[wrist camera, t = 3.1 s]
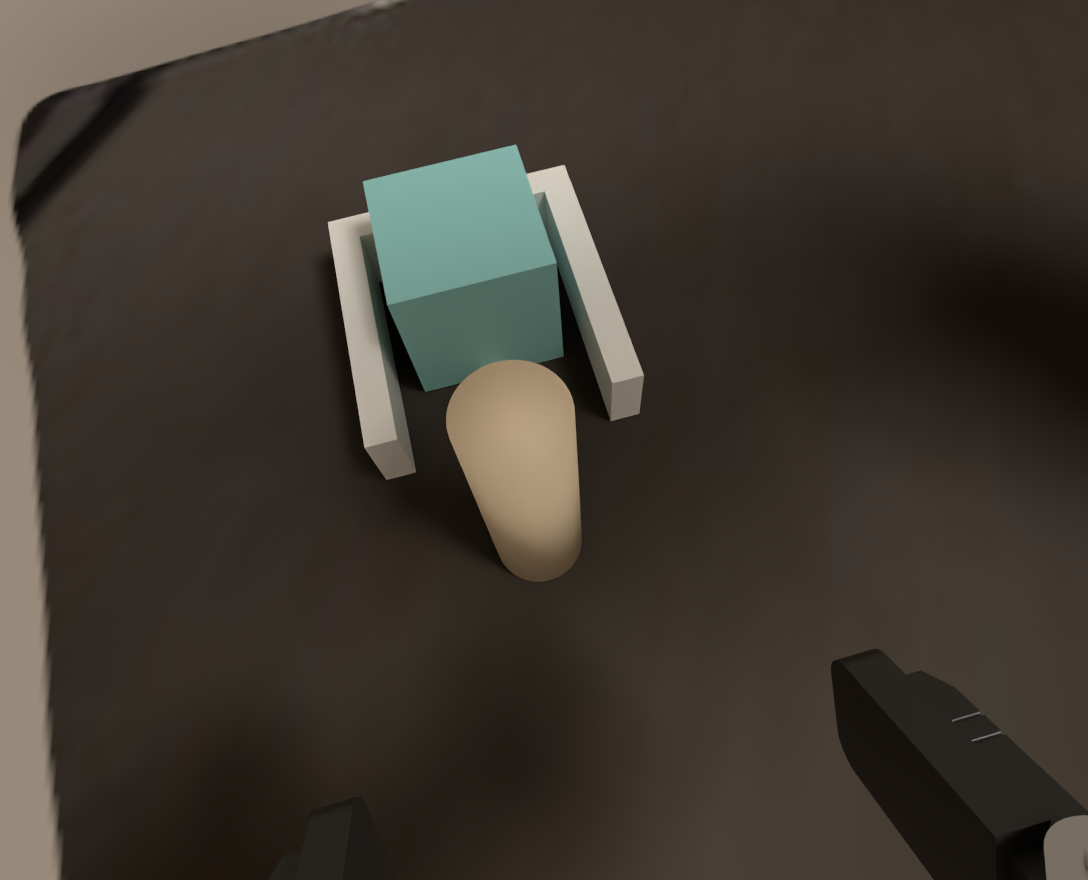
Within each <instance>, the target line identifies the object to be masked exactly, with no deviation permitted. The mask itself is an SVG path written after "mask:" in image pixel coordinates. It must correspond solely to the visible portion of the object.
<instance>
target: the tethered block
mask: <svg viewBox="0 0 1088 880" xmlns="http://www.w3.org/2000/svg"><path fill="white" fill-rule="evenodd" d="M363 185H364V190H365V195H366V200H367V205H368V210H369V215H370V220H371V225H372V230H373V235H374V241H375V246H376V251H377V256H378V261H379V266H380V271H381V276H382V281H383V286H384V291H385V296H386V301H387V306H388V308H389V310H390V313H391V315H392V317H393V319H394V322H395V324H396V326H397V329H398V331H399V333H400V336H401V338H402V340H403V342H404V345H405V347H406V349H407V352H408V354H409V356H410V358H411V361H412V363H413V365H414V368H415V370H416V372H417V374H418V377H419V379H420V381H421V384H422V386H423V388H424V391H425V392H428V391H432V390H435V389H439V388H443V387H447V386H451V385H455V384H459V383H461V384H460V385H459V386H458V387H457V389H456V390H455V392H454V393H453V395H452V397H451V399H450V402H449V405H448V408H447V414H446V426H447V432H448V436H449V439H450V441H451V443H452V446H453V448H454V451H455V453H456V455H457V458H458V460H459V462H460V465H461V467H462V469H463V472H464V474H465V476H466V479H467V481H468V484H469V486H470V488H471V491H472V493H473V495H474V498H475V500H476V502H477V505H478V507H479V509H480V512H481V514H482V516H483V519H484V521H485V524H486V526H487V528H488V531H489V533H490V535H491V538H492V540H493V542H494V545H495V547H496V549H497V552H498V554H499V556H500V559H501V561H502V562H503V564H504V565H505V567H506V568H507V569H508V570H509V571H510V572H512V573H513V574H514V575H516V576H517V577H520V578H522V579H524V580H528V581H533V582H543V581H549V580H552V579H555V578H557V577H559V576H561V575H563V574H564V573H565V572H567V571H568V570H569V569H570V568H571V567H572V566H573V564H574V563H575V561H576V560H577V558H578V556H579V553H580V550H581V545H582V531H581V513H580V495H579V477H578V459H577V441H576V423H575V408H574V403H573V398H572V396H571V394H570V391H569V390H568V388H567V386H566V385H565V383H564V382H563V381H562V380H561V379H560V378H559V377H558V376H557V375H556V374H555V373H553V372H552V371H551V370H549V369H547V368H546V367H544V366H542V365H539V364H537V363H541V362H544V361H548V360H552V359H556V358H560V357H564V354H563V340H562V327H561V314H560V300H559V287H558V273H557V262H556V259H555V256H554V254H553V251H552V248H551V245H550V242H549V239H548V236H547V233H546V230H545V227H544V224H543V221H542V219H541V216H540V213H539V210H538V207H537V204H536V201H535V198H534V195H533V192H532V189H531V186H530V183H529V181H528V178H527V175H526V172H525V169H524V166H523V163H522V160H521V157H520V154H519V151H518V148H517V146H516V145H513V146H508V147H504V148H500V149H496V150H492V151H488V152H483V153H479V154H475V155H471V156H467V157H463V158H458V159H454V160H450V161H446V162H442V163H437V164H433V165H429V166H425V167H421V168H417V169H412V170H408V171H404V172H400V173H396V174H392V175H387V176H383V177H379V178H375V179H371V180H367V181H363Z"/></svg>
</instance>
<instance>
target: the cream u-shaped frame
mask: <svg viewBox="0 0 1088 880" xmlns="http://www.w3.org/2000/svg"><path fill="white" fill-rule="evenodd" d="M526 175H527V178H528V181H529V183H530V186H531V189H532V192H533V195H534V198H535V201H536V204H537V207H538V210H539V213H540V216H541V219H542V221H543V224H544V227H545V230H546V233H547V236H548V239H549V242H550V245H551V248H552V251H553V254H554V256H555V259H556V262H557V266H558V269H559V272H560V275H561V277H562V280H563V283H564V286H565V289H566V292H567V295H568V298H569V301H570V304H571V307H572V310H573V313H574V315H575V318H576V321H577V324H578V327H579V330H580V333H581V336H582V339H583V342H584V345H585V348H586V351H587V353H588V356H589V359H590V362H591V365H592V368H593V371H594V374H595V377H596V380H597V383H598V386H599V389H600V391H601V394H602V397H603V400H604V403H605V406H606V409H607V412H608V415H609V418H610V421H613V420H617V419H621V418H625V417H629V416H632V415H636V414H639V412H640V404H641V396H642V387H643V379H644V374H643V371H642V369H641V366H640V363H639V361H638V358H637V356H636V353H635V350H634V348H633V345H632V342H631V340H630V337H629V334H628V332H627V329H626V326H625V324H624V321H623V319H622V316H621V313H620V311H619V308H618V305H617V303H616V300H615V297H614V295H613V292H612V290H611V287H610V284H609V282H608V279H607V276H606V274H605V271H604V268H603V266H602V263H601V260H600V258H599V255H598V253H597V250H596V247H595V245H594V242H593V239H592V237H591V234H590V231H589V229H588V226H587V223H586V221H585V218H584V216H583V213H582V210H581V208H580V205H579V202H578V200H577V197H576V194H575V192H574V189H573V186H572V184H571V181H570V179H569V176H568V173H567V171H566V168H565V165H562V166H558V167H554V168H550V169H546V170H542V171H537V172H533V173H529V174H526ZM328 227H329V233H330V239H331V245H332V251H333V257H334V264H335V270H336V276H337V282H338V288H339V294H340V301H341V307H342V313H343V319H344V325H345V332H346V338H347V344H348V350H349V356H350V362H351V369H352V375H353V381H354V387H355V393H356V399H357V406H358V412H359V418H360V424H361V430H362V436H363V443H364V448H365V450H366V451H367V452H368V454H369V455H370V457H371V458H372V460H373V461H374V463H375V464H376V465H377V467H378V468H379V470H380V471H381V473H382V474H383V476H384V477H385V479H386V480H389V479H393V478H396V477H400V476H404V475H408V474H412V473H416V468H415V463H414V458H413V453H412V448H411V443H410V438H409V433H408V427H407V422H406V417H405V412H404V407H403V402H402V397H401V392H400V386H399V381H398V376H397V371H396V366H395V361H394V356H393V351H392V345H391V340H390V335H389V330H388V325H387V320H386V315H385V310H384V304H383V299H382V294H381V289H380V284H379V282H381V281H382V276H381V271H380V266H379V261H378V256H377V251H376V246H375V241H374V235H373V230H372V225H371V220H370V215H369V212H368V213H364V214H360V215H356V216H352V217H347V218H343V219H339V220H335V221H331V222H328Z"/></svg>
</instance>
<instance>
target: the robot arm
mask: <svg viewBox="0 0 1088 880" xmlns="http://www.w3.org/2000/svg"><path fill="white" fill-rule="evenodd" d="M831 675H832V683H833V692H834V701H835V710H836V719H837V728H838V734H839V739H840V742H841V745H842V748H843V750H844V753H845V755H846V757H847V759H848V761H849V763H850V765H851V767H852V768H853V770H854V772H855V773H856V774H857V776H858V777H859V778H860V780H861V781H862V783H863V784H864V785H865V787H866V788H867V789H868V791H869V792H870V793H871V795H872V796H873V798H874V799H875V800H876V802H877V803H878V804H879V806H880V807H881V808H882V810H883V811H884V812H885V814H886V815H887V817H888V818H889V819H890V821H891V822H892V823H893V825H894V826H895V827H896V829H897V830H898V832H899V833H900V834H901V836H902V837H903V838H904V840H905V841H906V842H907V844H908V845H909V846H910V848H911V849H912V851H913V852H914V853H915V855H916V856H917V857H918V859H919V860H920V861H921V863H922V864H923V866H924V867H925V868H926V870H927V871H928V872H929V874H930V875H931V876H932V878H933V879H934V880H1088V811H1087V810H1086V809H1085V808H1084V807H1083V806H1082V805H1081V804H1080V803H1078V802H1077V801H1076V800H1075V799H1074V798H1073V797H1072V796H1071V795H1070V794H1069V793H1068V792H1067V791H1066V790H1064V789H1063V788H1062V787H1061V786H1060V785H1059V784H1058V783H1057V782H1056V781H1055V780H1054V779H1053V778H1052V777H1050V776H1049V775H1048V774H1047V773H1046V772H1045V771H1044V770H1043V769H1042V768H1041V767H1040V766H1039V765H1038V764H1037V763H1035V762H1034V761H1033V760H1032V759H1031V758H1030V757H1029V756H1028V755H1027V754H1026V753H1025V752H1024V751H1023V750H1021V749H1020V748H1019V747H1018V746H1017V745H1016V744H1015V743H1014V742H1013V741H1012V740H1011V739H1010V738H1009V737H1007V736H1006V735H1004V736H1003V735H1002V733H1001V731H1000V729H999V728H998V727H997V726H996V725H995V724H993V723H992V722H991V721H990V720H989V719H988V718H987V717H986V716H985V715H983V716H982V715H981V714H980V711H979V710H978V709H977V708H976V707H975V706H974V705H973V704H972V703H971V702H970V701H969V700H968V699H967V698H966V697H964V696H963V695H962V694H961V693H960V692H959V691H958V690H957V689H956V688H955V687H953V686H951V685H949V684H947V683H945V682H943V681H941V680H939V679H937V678H935V677H933V676H931V675H929V674H927V673H925V672H923V671H917V672H914V673H911V674H907V675H906V674H905V673H904V672H903V671H902V670H901V669H900V668H899V667H898V666H897V665H896V664H895V663H894V662H893V661H892V660H891V659H890V658H889V657H888V656H887V655H886V654H884V653H883V652H882V651H881V650H879V649H872V650H869V651H865V652H862V653H858V654H855V655H852V656H848V657H845V658H841V659H838V660H835V661H833V662H832V665H831ZM268 880H394V878H393V873H392V869H391V866H390V863H389V860H388V857H387V855H386V853H385V850H384V848H383V845H382V843H381V840H380V838H379V836H378V833H377V831H376V828H375V826H374V823H373V821H372V818H371V816H370V814H369V811H368V809H367V806H366V804H365V802H364V800H363V799H362V798H361V797H356V798H352V799H349V800H345V801H342V802H338V803H335V804H331V805H328V806H324V807H321V808H318V809H314V810H313V811H312V812H311V815H310V817H309V821H308V825H307V830H306V834H305V839H304V843H303V848H302V850H299V851H296V852H293V853H289V854H286V855H283V857H282V858H281V860H280V862H279V863H278V865H277V866H276V868H275V870H274V871H273V873H272V874H271V876H270V878H269V879H268Z"/></svg>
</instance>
